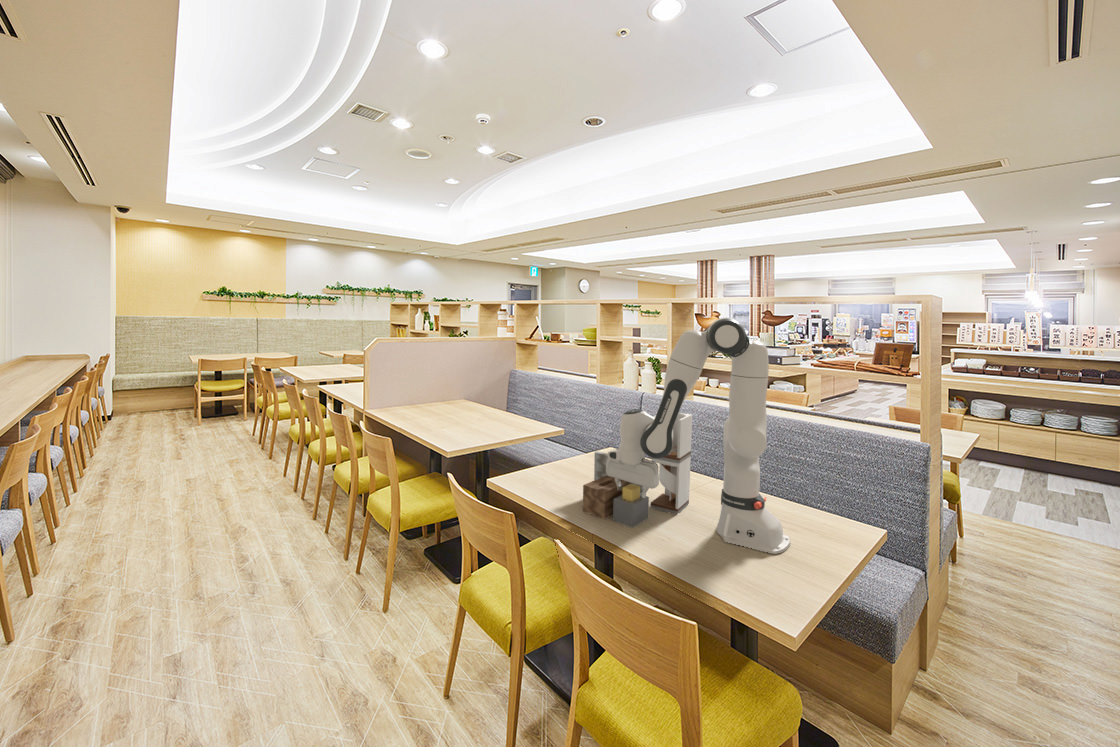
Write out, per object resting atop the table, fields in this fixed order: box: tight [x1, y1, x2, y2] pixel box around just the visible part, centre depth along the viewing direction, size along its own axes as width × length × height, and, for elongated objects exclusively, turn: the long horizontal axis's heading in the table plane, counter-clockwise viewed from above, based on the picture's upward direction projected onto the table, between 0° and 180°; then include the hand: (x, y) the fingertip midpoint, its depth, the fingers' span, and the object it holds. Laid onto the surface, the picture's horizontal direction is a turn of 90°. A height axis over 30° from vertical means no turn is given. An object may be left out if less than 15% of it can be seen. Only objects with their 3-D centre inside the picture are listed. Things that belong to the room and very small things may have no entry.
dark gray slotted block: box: [612, 495, 650, 529], centre depth 167 cm, size 8×10×8 cm
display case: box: [649, 412, 693, 515], centre depth 177 cm, size 11×11×35 cm
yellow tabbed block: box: [622, 484, 640, 501], centre depth 166 cm, size 4×5×8 cm
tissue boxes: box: [582, 450, 644, 520], centre depth 176 cm, size 22×16×18 cm
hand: (631, 493), depth 166 cm, fingers open, 8 cm apart
